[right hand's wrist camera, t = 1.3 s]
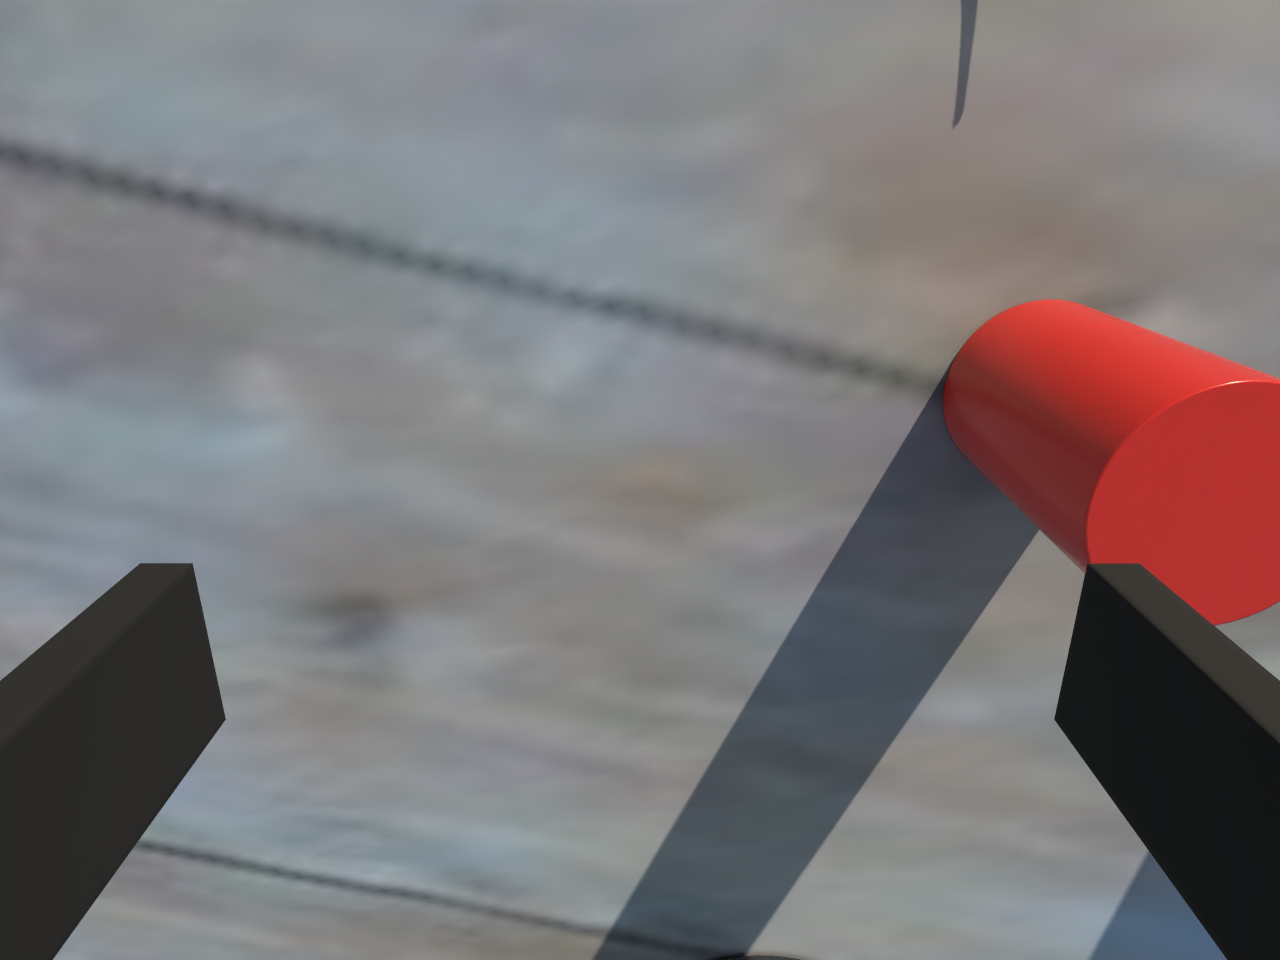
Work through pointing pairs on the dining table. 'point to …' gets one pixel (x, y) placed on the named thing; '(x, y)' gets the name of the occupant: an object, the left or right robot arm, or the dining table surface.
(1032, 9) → the dining table surface
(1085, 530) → the can
